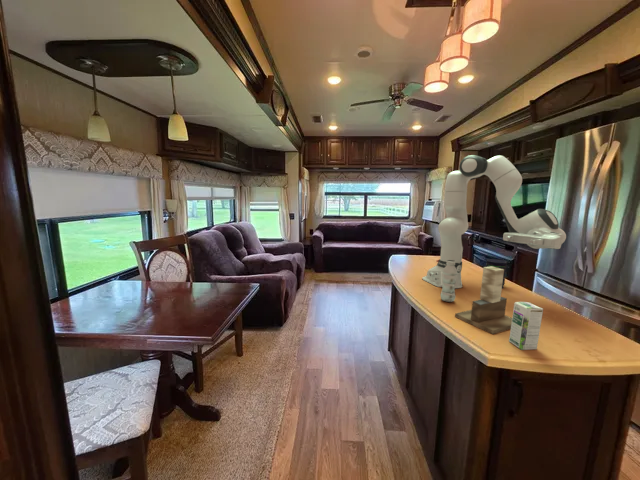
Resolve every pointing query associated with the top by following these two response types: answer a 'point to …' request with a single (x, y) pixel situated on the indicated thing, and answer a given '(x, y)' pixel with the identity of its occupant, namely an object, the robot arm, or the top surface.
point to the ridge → (487, 316)
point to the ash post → (491, 284)
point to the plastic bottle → (449, 282)
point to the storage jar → (498, 266)
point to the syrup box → (525, 325)
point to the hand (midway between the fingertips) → (519, 240)
